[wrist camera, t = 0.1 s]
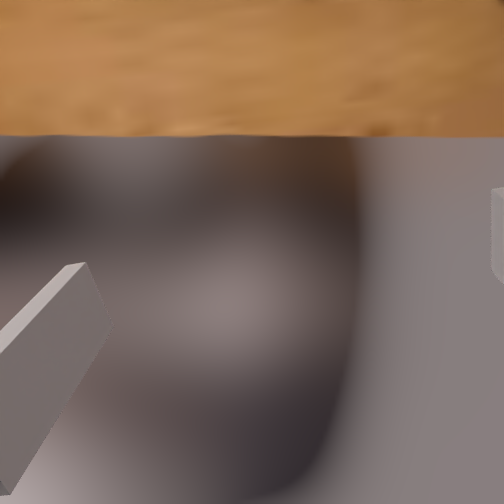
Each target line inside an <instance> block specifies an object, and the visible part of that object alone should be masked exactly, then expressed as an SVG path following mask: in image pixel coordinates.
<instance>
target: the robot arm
mask: <svg viewBox="0 0 504 504" xmlns="http://www.w3.org/2000/svg"><path fill="white" fill-rule="evenodd" d="M491 271H492V272H493V273H494V274H495V276H496V277H497V278H498V279H499V280H500V281H501V282H502V284H503V285H504V187H501V188H495V189H491ZM113 328H114V326H113V324H112V321H111V319H110V317H109V314H108V312H107V310H106V307H105V305H104V303H103V301H102V298H101V296H100V294H99V291H98V289H97V287H96V284H95V282H94V280H93V277H92V275H91V273H90V270H89V268H88V266H87V263H86V262H83V263H77V264H72V265H66V266H65V267H64V268H63V269H62V270H61V271H60V272H59V273H58V274H57V275H56V276H55V277H54V278H53V279H52V280H51V281H50V282H49V283H48V284H47V285H46V286H45V287H44V288H43V289H42V290H41V291H40V292H39V293H38V294H37V295H36V296H35V297H34V298H33V299H32V300H31V301H30V302H29V303H28V304H27V305H26V306H25V307H24V308H23V309H22V310H21V311H20V312H19V313H18V314H17V315H16V316H15V317H14V318H13V319H12V320H11V321H10V322H9V323H8V324H7V325H6V326H5V327H4V328H3V329H2V330H1V331H0V496H2V495H10V494H11V493H12V491H13V489H14V488H15V486H16V485H17V483H18V481H19V480H20V478H21V477H22V475H23V473H24V472H25V470H26V468H27V467H28V465H29V464H30V462H31V460H32V459H33V457H34V456H35V454H36V452H37V451H38V449H39V447H40V446H41V444H42V443H43V441H44V439H45V438H46V436H47V435H48V433H49V431H50V429H51V428H52V427H53V425H54V423H55V422H56V420H57V418H58V417H59V415H60V414H61V412H62V410H63V409H64V407H65V405H66V404H67V402H68V401H69V399H70V397H71V396H72V394H73V392H74V391H75V389H76V388H77V386H78V385H79V383H80V381H81V380H82V378H83V376H84V375H85V373H86V371H87V370H88V368H89V367H90V365H91V364H92V362H93V360H94V359H95V357H96V355H97V353H98V352H99V351H100V349H101V347H102V346H103V344H104V343H105V341H106V339H107V338H108V336H109V334H110V333H111V331H112V329H113Z"/></svg>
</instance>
